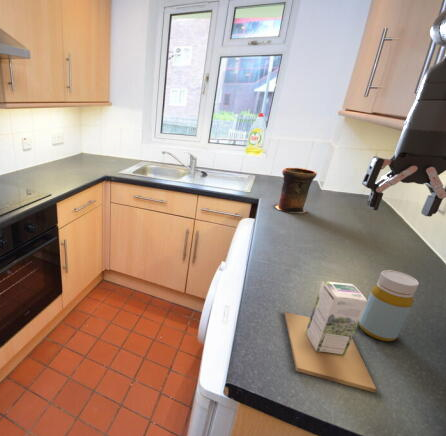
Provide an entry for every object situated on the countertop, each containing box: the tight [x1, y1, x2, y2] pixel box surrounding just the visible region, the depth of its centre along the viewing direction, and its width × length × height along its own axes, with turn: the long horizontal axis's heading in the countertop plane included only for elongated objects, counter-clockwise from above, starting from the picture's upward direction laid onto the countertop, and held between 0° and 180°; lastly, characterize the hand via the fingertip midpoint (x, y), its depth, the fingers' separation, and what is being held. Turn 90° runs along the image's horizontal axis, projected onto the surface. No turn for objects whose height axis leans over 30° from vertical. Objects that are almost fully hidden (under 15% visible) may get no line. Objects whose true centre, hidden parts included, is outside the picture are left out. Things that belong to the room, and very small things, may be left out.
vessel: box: [275, 167, 318, 214], centre depth 147 cm, size 14×14×20 cm
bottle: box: [358, 269, 420, 342], centre depth 67 cm, size 7×7×15 cm
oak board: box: [284, 311, 377, 394], centre depth 65 cm, size 13×18×1 cm
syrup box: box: [306, 280, 368, 355], centre depth 62 cm, size 6×6×14 cm
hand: (398, 212), depth 59 cm, fingers open, 8 cm apart
